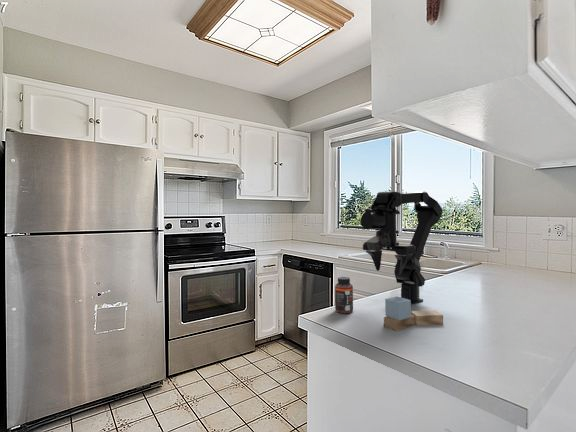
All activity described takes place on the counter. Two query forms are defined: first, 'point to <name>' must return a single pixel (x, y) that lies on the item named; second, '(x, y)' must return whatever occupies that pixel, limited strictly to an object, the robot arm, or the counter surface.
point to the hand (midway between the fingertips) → (388, 272)
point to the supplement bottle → (343, 295)
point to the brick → (427, 317)
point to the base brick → (398, 322)
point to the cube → (398, 308)
